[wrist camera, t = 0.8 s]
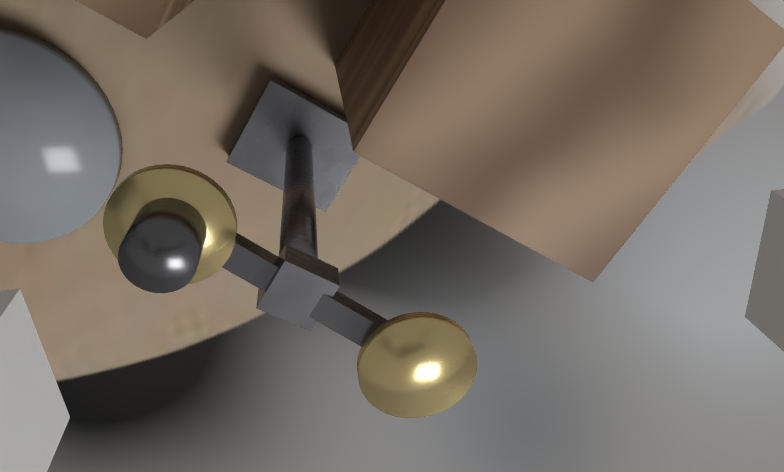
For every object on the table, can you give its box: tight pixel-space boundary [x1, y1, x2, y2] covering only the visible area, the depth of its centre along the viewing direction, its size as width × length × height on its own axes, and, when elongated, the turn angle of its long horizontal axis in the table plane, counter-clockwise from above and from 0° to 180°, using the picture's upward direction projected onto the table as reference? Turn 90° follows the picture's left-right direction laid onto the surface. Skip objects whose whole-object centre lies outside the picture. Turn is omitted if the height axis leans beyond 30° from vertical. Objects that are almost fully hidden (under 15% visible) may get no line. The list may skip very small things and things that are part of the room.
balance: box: [103, 76, 477, 418], centre depth 28 cm, size 13×5×18 cm, turn 59°
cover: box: [335, 0, 784, 282], centre depth 28 cm, size 11×11×14 cm
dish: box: [0, 28, 123, 243], centre depth 33 cm, size 11×11×1 cm
